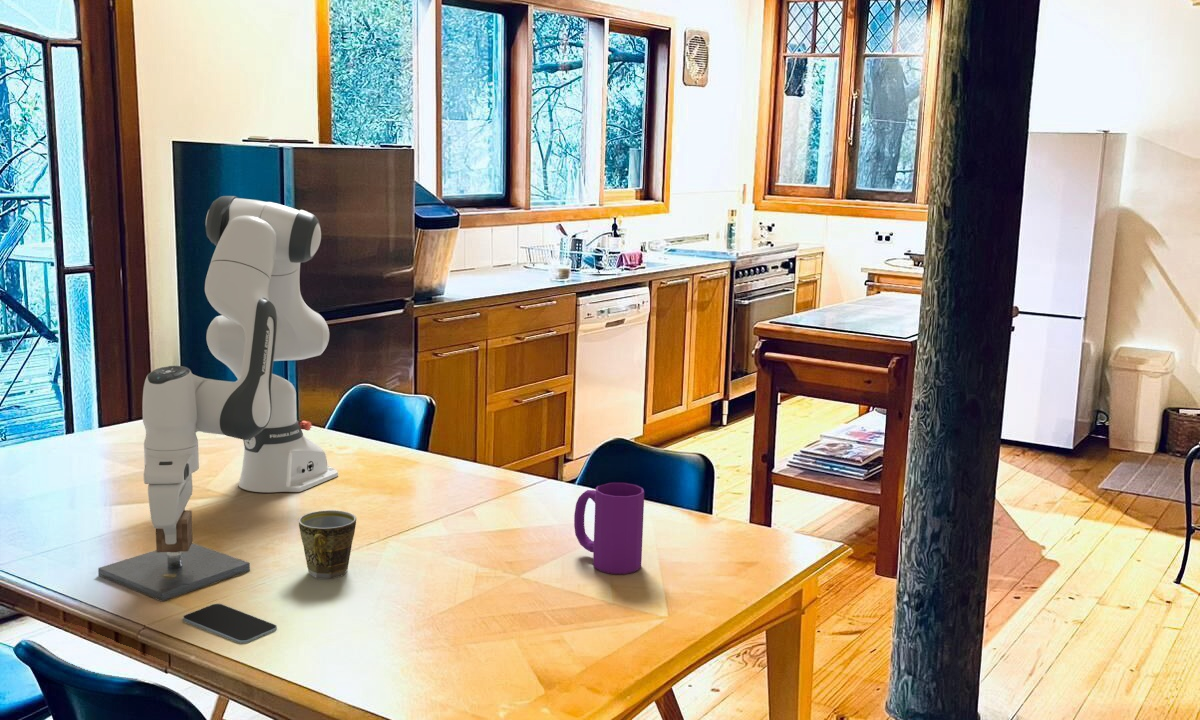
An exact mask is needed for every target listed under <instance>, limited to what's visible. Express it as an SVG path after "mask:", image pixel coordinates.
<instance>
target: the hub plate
mask: <svg viewBox="0 0 1200 720" xmlns="http://www.w3.org/2000/svg"><path fill="white" fill-rule="evenodd" d="M247 572H251V562H249V561H245V560H243V559H241V558H237V557H234V556H231V555H229V554H225V553H223V552H220V551H216V550H213V549H211V548H208V547H205V546H204V545H203V546H202V545H200V544H197V543H194V542H192V544H191V546H190V548H189V550H188V551H184V552H157V550H156V549H155V550H152V551H149V552H146V553H143V554H138V555H135V556H133V557H130V558H126V559H124V560H123V559H122V560H120V561H117V562H113V563H110V564H107V565H104V566H100V567H98V577H100V578H102V579H105V580H107V581H110V582H112V583H115V584H118V585H120V586H122V587H124V588H127V589H129V590H132V591H135V592H137V593H140V594H142V595H145V596H148V597H150V598H152V599H155V600H157V601H160V602H165V601H168V600H171V599H173V598H176V597H179V596H182V595H184V594H188V593H191V592H193V591H196V590H199V589H203V588H205V587H208V586H210V585H214V584H216V583H219V582H221V581H222V582H223V581H224V580H227V579H230V578H233V577H236V576H238V575H242V574H244V573H247Z"/></svg>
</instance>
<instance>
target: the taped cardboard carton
mask: <svg viewBox="0 0 1200 720" xmlns="http://www.w3.org/2000/svg"><path fill="white" fill-rule="evenodd" d="M192 512H193V511H192V510H191V509H189V510H187V509H185V510H184V511H183V513H182V515H181V516H180V518H179V520H178V522H177V525H176V532H177V542H176V543H175V544H166V543H165V534H164V530H163V529H156V528H155V542H156V544H155V546H156V549H155V550H157V552H184V551H188V550H189V548H190V546H191V544H192V543H193V518H192V516H193V515H192Z"/></svg>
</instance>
